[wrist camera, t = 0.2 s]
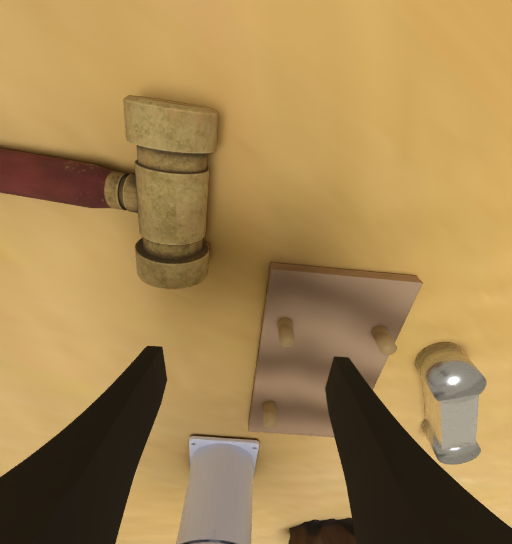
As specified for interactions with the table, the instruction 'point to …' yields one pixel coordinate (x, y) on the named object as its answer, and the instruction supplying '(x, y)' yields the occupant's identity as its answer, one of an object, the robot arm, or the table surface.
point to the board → (322, 339)
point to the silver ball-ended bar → (450, 401)
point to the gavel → (140, 186)
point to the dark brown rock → (323, 532)
